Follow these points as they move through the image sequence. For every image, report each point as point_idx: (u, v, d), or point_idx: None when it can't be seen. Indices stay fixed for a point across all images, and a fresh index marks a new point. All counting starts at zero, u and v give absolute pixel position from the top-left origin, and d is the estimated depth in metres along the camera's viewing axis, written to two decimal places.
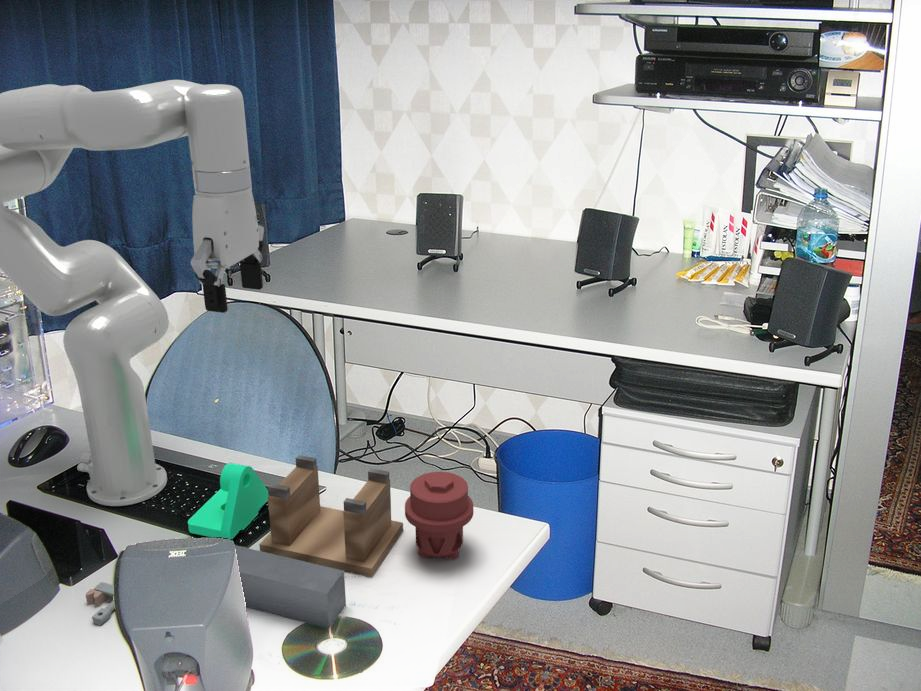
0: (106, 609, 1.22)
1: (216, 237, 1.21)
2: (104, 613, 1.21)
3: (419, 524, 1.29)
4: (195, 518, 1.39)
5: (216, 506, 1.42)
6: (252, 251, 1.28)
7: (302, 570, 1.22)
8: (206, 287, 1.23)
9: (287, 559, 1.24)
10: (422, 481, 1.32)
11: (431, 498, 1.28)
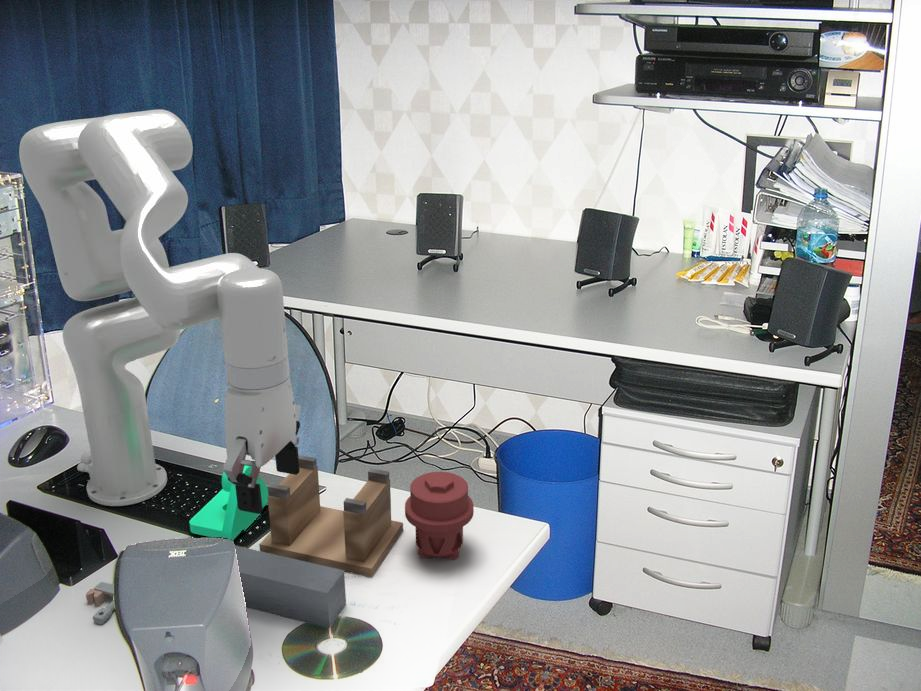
0: (107, 608, 1.22)
1: (251, 437, 1.09)
2: (105, 612, 1.21)
3: (420, 524, 1.29)
4: (197, 518, 1.39)
5: (217, 506, 1.42)
6: (289, 439, 1.16)
7: (302, 570, 1.22)
8: (239, 488, 1.11)
9: (287, 559, 1.24)
10: (422, 481, 1.32)
11: (431, 498, 1.28)
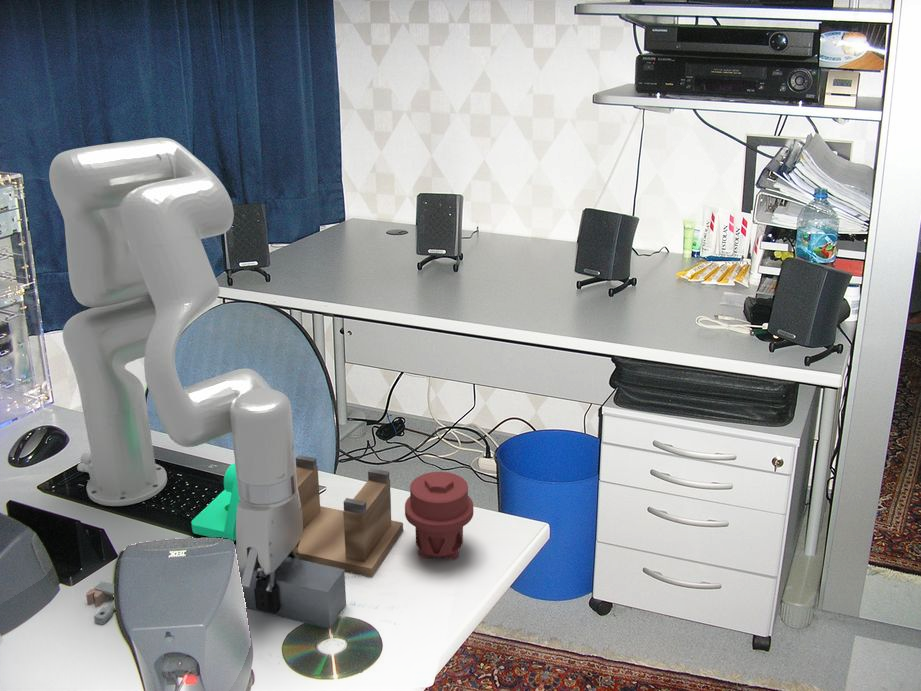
0: (108, 608, 1.22)
1: (260, 548, 1.15)
2: (106, 612, 1.21)
3: (419, 524, 1.29)
4: (199, 518, 1.39)
5: (220, 506, 1.42)
6: (296, 543, 1.23)
7: (302, 569, 1.22)
8: (258, 591, 1.20)
9: (287, 558, 1.24)
10: (422, 481, 1.32)
11: (431, 498, 1.28)
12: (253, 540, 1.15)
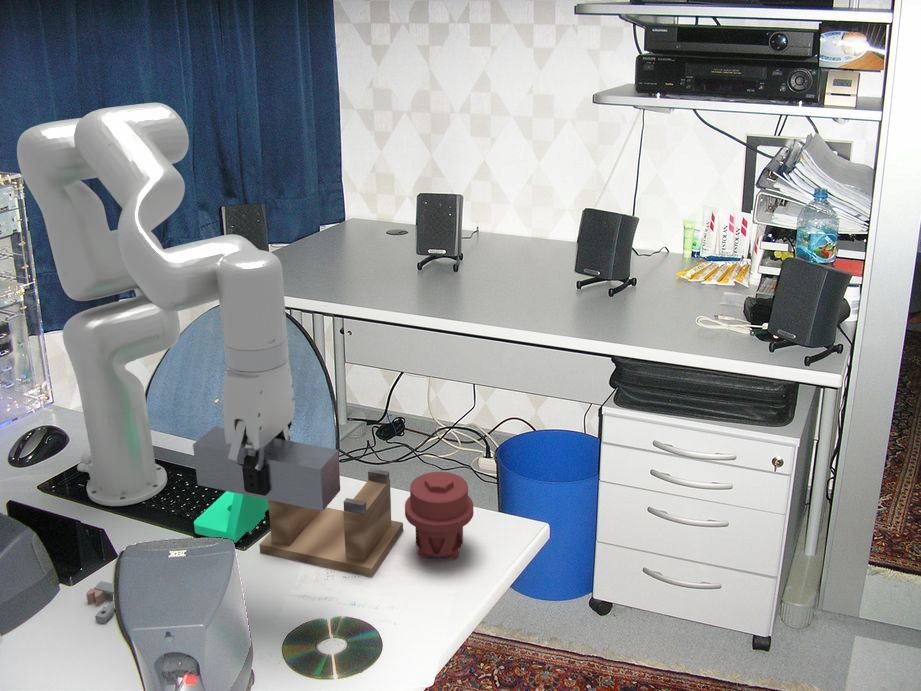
0: (109, 607, 1.22)
1: (249, 419, 1.08)
2: (107, 611, 1.21)
3: (419, 524, 1.29)
4: (201, 518, 1.39)
5: (222, 507, 1.42)
6: (287, 423, 1.16)
7: (294, 450, 1.15)
8: (246, 470, 1.13)
9: (277, 440, 1.17)
10: (422, 481, 1.32)
11: (431, 498, 1.28)
12: (241, 411, 1.08)
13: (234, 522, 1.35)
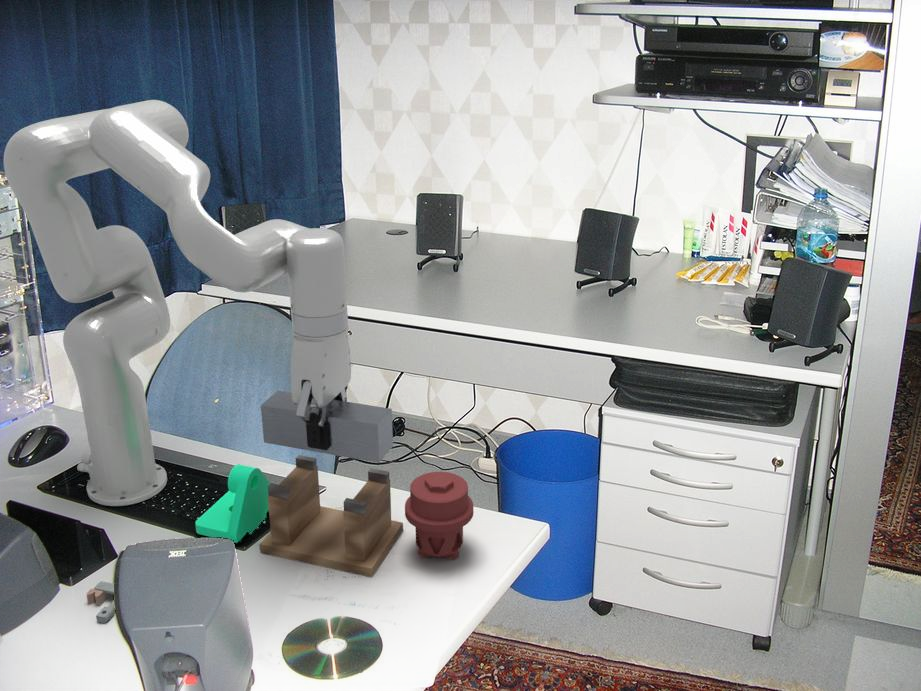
0: (109, 607, 1.22)
1: (314, 380, 1.21)
2: (108, 611, 1.21)
3: (419, 524, 1.29)
4: (203, 519, 1.39)
5: (224, 507, 1.42)
6: (345, 385, 1.29)
7: (352, 409, 1.28)
8: (310, 427, 1.26)
9: (336, 401, 1.30)
10: (422, 481, 1.32)
11: (431, 498, 1.28)
12: (307, 372, 1.21)
13: (235, 522, 1.35)
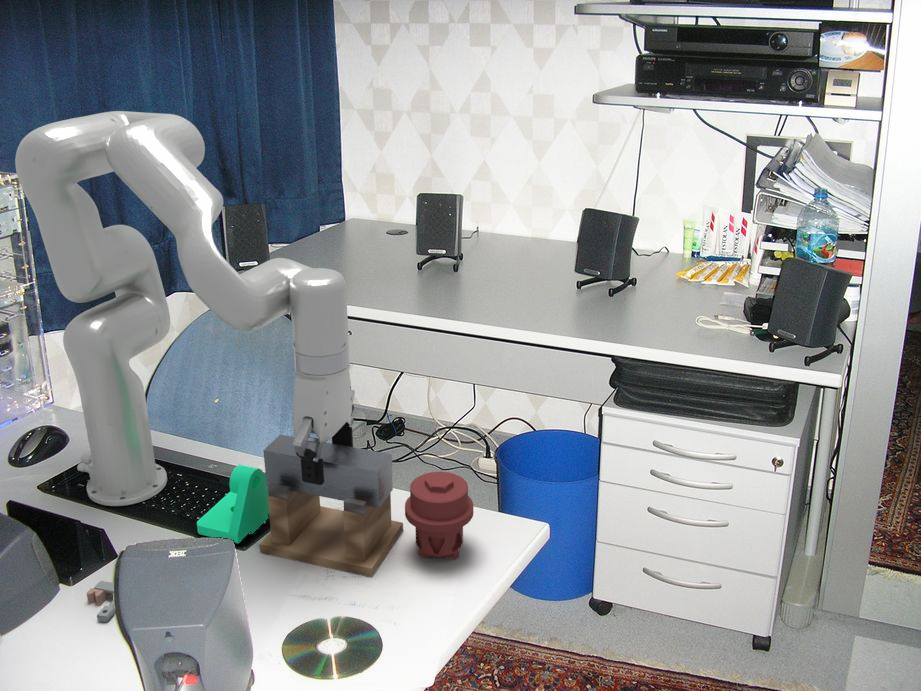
0: (110, 606, 1.22)
1: (316, 417, 1.23)
2: (109, 610, 1.21)
3: (419, 524, 1.29)
4: (204, 519, 1.39)
5: (226, 507, 1.42)
6: (346, 420, 1.31)
7: (352, 454, 1.31)
8: (305, 462, 1.26)
9: (337, 446, 1.33)
10: (422, 481, 1.32)
11: (431, 498, 1.28)
12: (310, 409, 1.23)
13: (237, 523, 1.35)
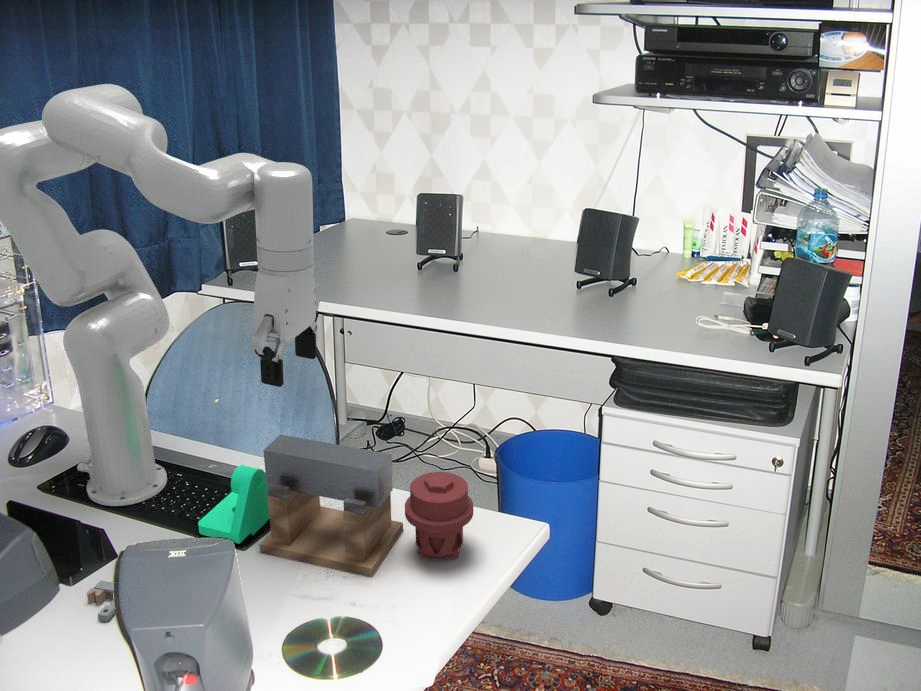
0: (111, 606, 1.22)
1: (277, 314, 1.21)
2: (110, 609, 1.21)
3: (419, 524, 1.29)
4: (206, 519, 1.39)
5: (227, 507, 1.41)
6: (309, 324, 1.29)
7: (352, 454, 1.31)
8: (264, 362, 1.23)
9: (337, 446, 1.33)
10: (422, 481, 1.32)
11: (431, 498, 1.28)
12: (270, 306, 1.21)
13: (238, 523, 1.35)
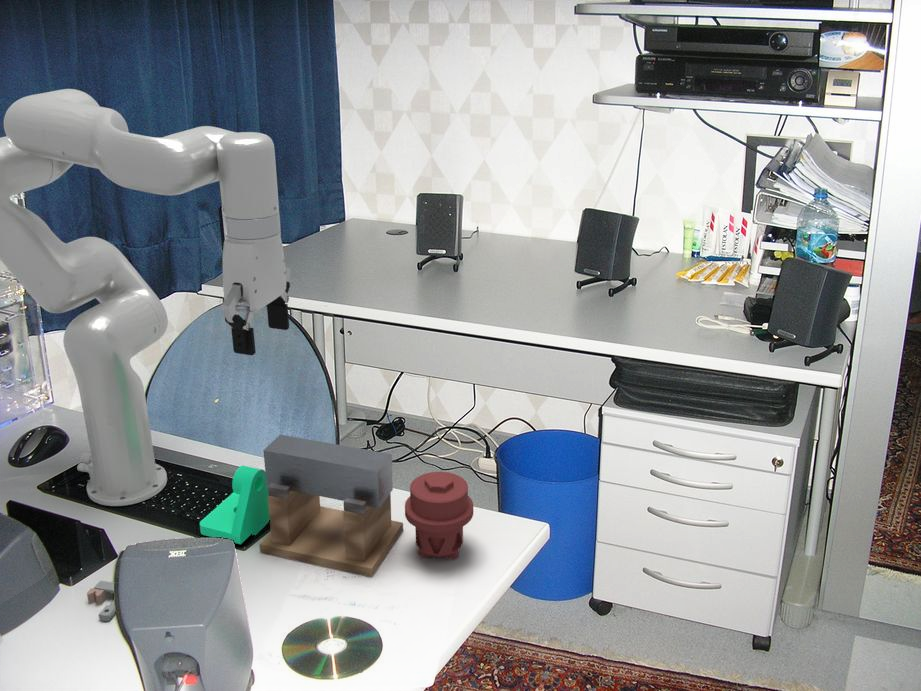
0: (111, 606, 1.22)
1: (245, 282, 1.23)
2: (110, 609, 1.22)
3: (419, 524, 1.29)
4: (207, 519, 1.39)
5: (229, 508, 1.41)
6: (280, 294, 1.30)
7: (352, 454, 1.31)
8: (235, 331, 1.25)
9: (337, 446, 1.33)
10: (422, 481, 1.32)
11: (431, 498, 1.28)
12: (238, 275, 1.22)
13: (239, 524, 1.35)
